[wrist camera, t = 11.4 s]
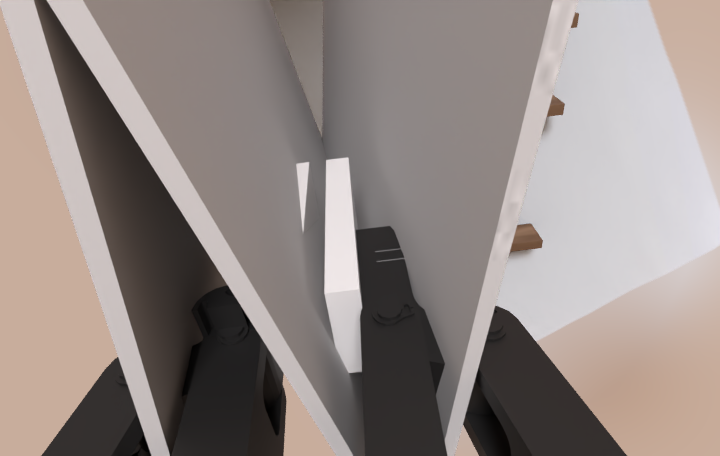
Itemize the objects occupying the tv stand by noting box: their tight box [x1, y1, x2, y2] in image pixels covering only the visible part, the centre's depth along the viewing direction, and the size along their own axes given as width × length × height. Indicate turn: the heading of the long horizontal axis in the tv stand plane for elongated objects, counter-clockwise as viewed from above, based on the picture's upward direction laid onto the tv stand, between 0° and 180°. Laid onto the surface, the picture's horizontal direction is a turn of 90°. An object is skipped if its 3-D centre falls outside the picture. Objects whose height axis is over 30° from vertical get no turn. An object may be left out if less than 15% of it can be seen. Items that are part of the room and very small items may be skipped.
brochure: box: [0, 0, 578, 456], centre depth 20 cm, size 14×6×30 cm, turn 177°
